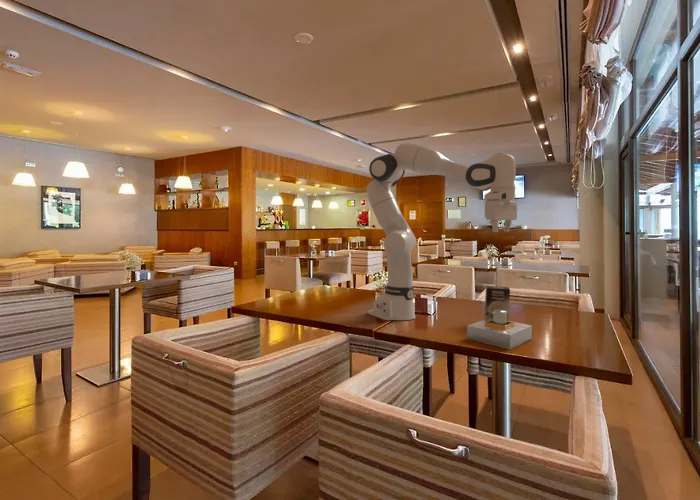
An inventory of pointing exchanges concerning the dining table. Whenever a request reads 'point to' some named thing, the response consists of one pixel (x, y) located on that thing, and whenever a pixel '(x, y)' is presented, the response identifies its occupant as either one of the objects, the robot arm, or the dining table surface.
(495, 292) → the coffee box
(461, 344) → the dining table surface
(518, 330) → the grey rectangular block
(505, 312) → the spout can
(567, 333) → the dining table surface
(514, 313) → the dining table surface
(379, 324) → the dining table surface
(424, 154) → the robot arm
